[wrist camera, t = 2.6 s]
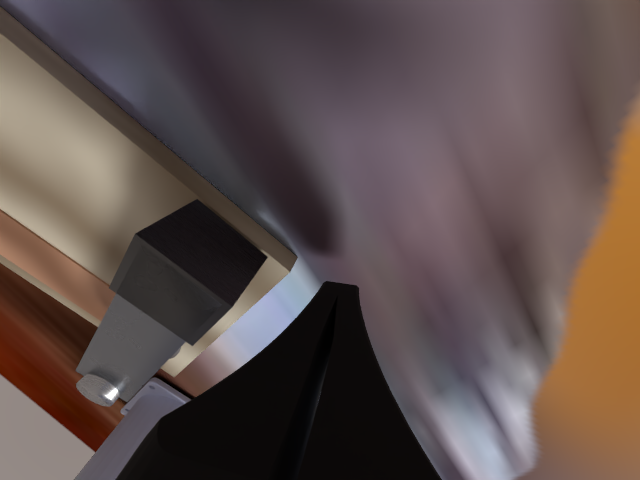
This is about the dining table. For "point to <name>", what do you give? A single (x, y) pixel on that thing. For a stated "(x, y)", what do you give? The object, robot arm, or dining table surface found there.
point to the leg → (165, 299)
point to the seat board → (94, 187)
